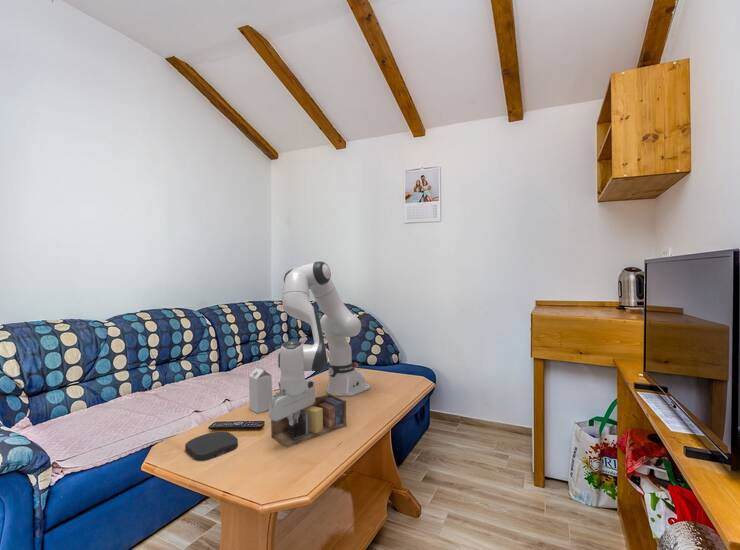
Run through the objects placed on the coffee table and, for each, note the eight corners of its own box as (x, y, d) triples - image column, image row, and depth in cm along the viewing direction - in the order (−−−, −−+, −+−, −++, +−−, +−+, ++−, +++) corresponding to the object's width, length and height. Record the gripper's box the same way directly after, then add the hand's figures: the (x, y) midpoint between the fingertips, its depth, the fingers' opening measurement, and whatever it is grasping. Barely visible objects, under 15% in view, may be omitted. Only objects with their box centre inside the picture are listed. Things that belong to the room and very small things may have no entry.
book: (305, 425, 144) (305, 404, 144) (322, 429, 140) (322, 408, 140) (299, 429, 140) (298, 408, 140) (316, 433, 137) (316, 411, 136)
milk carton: (264, 405, 169) (263, 363, 169) (272, 409, 164) (271, 366, 163) (249, 409, 164) (248, 366, 164) (257, 413, 159) (256, 369, 158)
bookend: (296, 428, 141) (296, 407, 141) (308, 435, 135) (307, 413, 135) (283, 432, 137) (282, 411, 137) (293, 440, 131) (293, 417, 131)
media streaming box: (181, 449, 129) (181, 441, 129) (222, 435, 139) (222, 427, 139) (198, 464, 119) (198, 455, 118) (242, 448, 129) (241, 439, 129)
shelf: (330, 417, 153) (329, 393, 153) (346, 425, 145) (345, 400, 145) (271, 437, 136) (270, 410, 136) (286, 447, 128) (285, 418, 128)
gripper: (277, 396, 125) (278, 437, 125) (317, 380, 142) (318, 416, 142) (264, 393, 128) (265, 433, 129) (305, 378, 146) (306, 413, 146)
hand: (293, 424), depth 136 cm, fingers closed
